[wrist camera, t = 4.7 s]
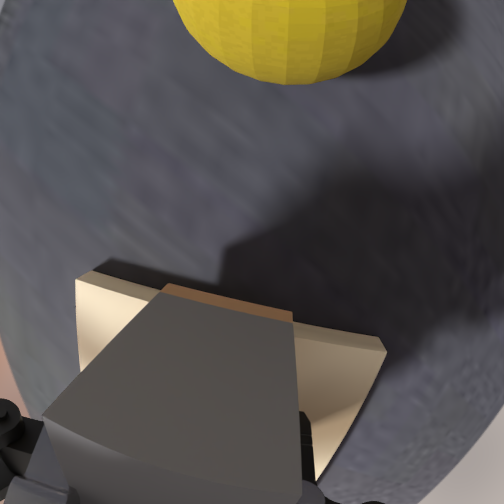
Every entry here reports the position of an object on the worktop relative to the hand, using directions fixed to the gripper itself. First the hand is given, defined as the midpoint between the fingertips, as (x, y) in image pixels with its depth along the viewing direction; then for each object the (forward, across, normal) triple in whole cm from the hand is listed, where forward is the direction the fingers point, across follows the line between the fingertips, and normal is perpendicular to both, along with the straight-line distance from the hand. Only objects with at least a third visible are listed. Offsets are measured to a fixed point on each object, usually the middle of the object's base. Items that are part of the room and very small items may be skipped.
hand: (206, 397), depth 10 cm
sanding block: (+1, 0, 0) cm, 1 cm away
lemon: (+3, 0, -12) cm, 13 cm away
